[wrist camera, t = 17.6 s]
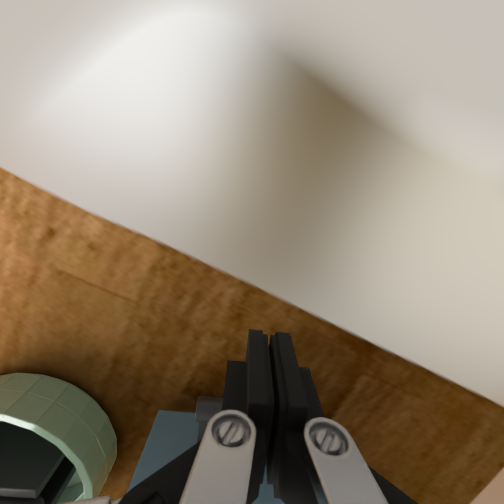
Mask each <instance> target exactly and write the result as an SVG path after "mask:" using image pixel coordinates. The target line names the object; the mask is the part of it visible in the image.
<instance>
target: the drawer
mask: <svg viewBox="0 0 504 504" xmlns="http://www.w3.org/2000/svg"><path fill="white" fill-rule="evenodd" d="M222 404H223V398H221V397H209V396H199V397H198V399H197V404H196V410H195V413H190V412H177V411H165V410H159V411H158V413H157V416H156V418H155V421H154V423H153V426H152V428H151V431H150V433H149V436H148V439H147V441H146V444H145V446H144V449H143V451H142V454H141V456H140V459H139V462H138V464H137V467H136V469H135V472H134V474H133V477H132V479H131V482H130V484H129V487H128V490H127V492H128V491H130V490H131V489H132V488H133V487H135V486H136V485H137V484H139V483H140V482H142V481H143V480H145V479H146V478H148V477H149V476H150V475H152V474H153V473H155V472H156V471H158V470H159V469H160V468H162V467H163V466H165V465H166V464H168V463H169V462H171V461H172V460H173V459H175V458H176V457H178V456H179V455H181V454H182V453H183V452H185V451H186V450H188V449H189V448H191V447H192V446H194V445H195V444H196V443H198V442H199V441H201V440H202V438H203V435H204V432H205V429H206V427H207V424H208V422H209V420H210V419H211V418H212V417H213V416H214V415H215V414H216V413H218V412H221V411H222ZM127 492H126V493H127ZM252 504H285V503H284V502H283V501H282V500H281V499H278V498H274V490H273V485H268V484H267V472H266V466H265V473H264V479H263V484H260V490H259V496H258V498H257V499H256V500H255V501H254V502H253V503H252Z"/></svg>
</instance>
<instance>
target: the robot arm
mask: <svg viewBox="0 0 504 504" xmlns="http://www.w3.org/2000/svg"><path fill="white" fill-rule="evenodd" d="M265 466H266V472H267V484H268V485H273V490H274V498H278V499H281V500H282V501H283V502H284V503H285V504H418V503H416V502H415V501H414V500H412V499H411V498H410V497H408V496H407V495H406V494H405V493H403V492H402V491H401V490H399V489H398V488H397V487H395V486H394V485H393V484H391V483H390V482H389V481H388V480H386V479H385V478H384V477H382V476H381V475H380V474H378V473H377V472H376V471H375V470H373V469H372V468H371V467H369V466H368V465H367V464H366V462H365V460H364V458H363V457H362V455H361V453H360V451H359V449H358V448H357V446H356V444H355V442H354V440H353V438H352V437H351V435H350V434H349V432H348V431H347V430H346V429H345V428H344V427H343V426H342V425H341V424H339V423H337V422H336V421H334V420H331V419H328V418H325V417H324V414H323V411H322V408H321V405H320V401H319V398H318V395H317V392H316V389H315V385H314V382H313V379H312V376H311V372H310V370H309V368H307V367H298V363H297V359H296V355H295V352H294V348H293V344H292V340H291V336H290V333H283V332H276V334H275V335H271V337H270V343H269V345H268V336H267V334H263V331H262V330H252V329H249V335H248V343H247V351H246V360H245V362H242V361H231V360H228V363H227V371H226V379H225V388H224V396H223V404H222V411H221V412H218V413H216V414H215V415H214V416H213V417H212V418H211V419H210V420H209V422H208V424H207V427H206V429H205V432H204V435H203V438H202V440H201V441H199V442H198V443H196V444H195V445H194V446H192V447H191V448H189V449H188V450H186V451H185V452H183V453H182V454H181V455H179V456H178V457H176V458H175V459H173V460H172V461H171V462H169V463H168V464H166V465H165V466H163V467H162V468H160V469H159V470H158V471H156V472H155V473H153V474H152V475H150V476H149V477H148V478H146V479H145V480H143V481H142V482H140V483H139V484H137V485H136V486H135V487H133V488H132V489H131V490H130V491H128V492H127V493H126V494H125V495H124V496H123V498H119V499H113V500H110V495H107V496H101V497H96V498H90V499H84V500H78V501H72V502H66V503H60V504H252V503H253V502H254V501H255V500H256V499H257V498H258V496H259V490H260V484H263V479H264V473H265Z"/></svg>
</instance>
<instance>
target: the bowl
mask: <svg viewBox="0 0 504 504" xmlns="http://www.w3.org/2000/svg"><path fill="white" fill-rule="evenodd" d="M0 421H4V422H7V423H10V424H13V425H16V426H19V427H22V428H25V429H28V430H32V431H33V432H35V433H37V434H38V435H40V436H41V437H43V438H45V439H46V440H48V441H49V442H51V443H53V444H54V445H56V446H57V447H58V448H59V449H60V450H61V451H62V452H63V454H64V455H65V456H66V457H67V458H68V459H69V460H70V461H71V462H72V463H73V464H74V466H75V468H76V471H75V473H74V475H73V476H72V478H71V480H70V481H69V483H68V485H67V486H66V488H65V490H64V491H63V493H62V495H61V496H60V498H59V500H58V501H57V503H56V504H60V503H66V502H72V501H78V500H84V499H90V498H96V497H99V496H100V494H101V492H102V489H103V487H104V485H105V483H106V481H107V479H108V477H109V475H110V472H111V470H112V468H113V465H114V463H115V461H116V458H117V437H116V434H115V432H114V429H113V427H112V424H111V422H110V419H109V418H108V416H107V414H106V413H105V412H104V411H103V409H102V408H101V407H100V406H99V404H98V403H97V402H96V401H95V400H94V399H93V398H92V397H91V396H89V395H88V394H87V393H86V392H84V391H83V390H81V389H80V388H78V387H76V386H75V385H73V384H70V383H68V382H66V381H63V380H61V379H58V378H54V377H50V376H47V375H42V374H30V373H17V372H16V373H11V374H6V375H1V376H0Z"/></svg>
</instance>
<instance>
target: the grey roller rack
mask: <svg viewBox="0 0 504 504" xmlns="http://www.w3.org/2000/svg"><path fill="white" fill-rule="evenodd" d="M75 471H76V468H75V466H74V464H73V463H72V462H71V461H70V460H69V459H68V458H67V457H66V456H65V455H64V454H63V452H62V451H61V450H60V449H59V448H58V447H57V446H56V445H54V444H53V443H51V442H49V441H48V440H46V439H45V438H43V437H41V436H40V435H38V434H37V433H35V432H33V431H32V430H28V429H25V428H22V427H19V426H16V425H13V424H10V423H7V422H4V421H0V504H56V503H57V501H58V500H59V498H60V496H61V495H62V493H63V491H64V490H65V488H66V486H67V485H68V483H69V481H70V480H71V478H72V476H73V475H74V473H75Z"/></svg>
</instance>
